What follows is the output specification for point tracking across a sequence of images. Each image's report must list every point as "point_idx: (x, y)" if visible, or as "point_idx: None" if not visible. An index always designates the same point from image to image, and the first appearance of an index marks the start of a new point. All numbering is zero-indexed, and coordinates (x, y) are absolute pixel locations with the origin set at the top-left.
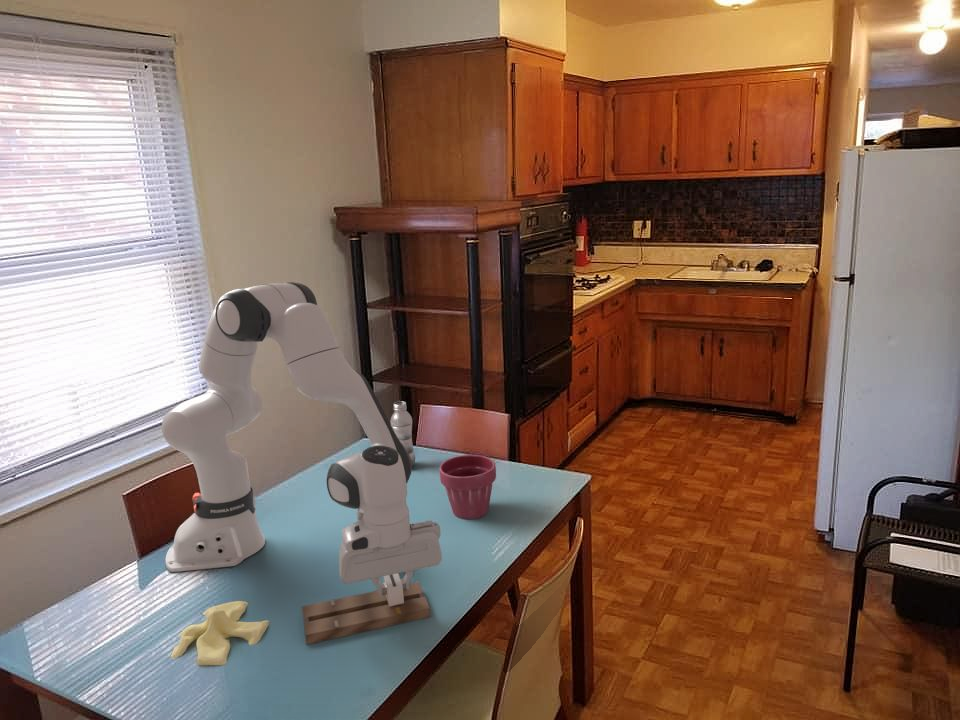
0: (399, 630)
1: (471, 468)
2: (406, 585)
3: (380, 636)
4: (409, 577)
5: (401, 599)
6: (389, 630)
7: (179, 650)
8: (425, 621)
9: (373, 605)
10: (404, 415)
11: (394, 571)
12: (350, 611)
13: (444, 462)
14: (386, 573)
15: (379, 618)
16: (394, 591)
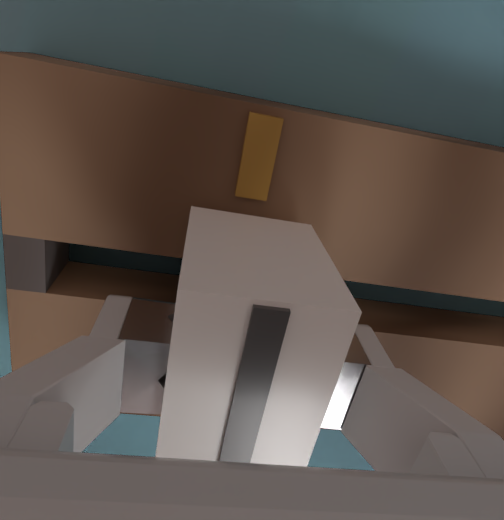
0: (297, 17)
1: None
2: (119, 321)
3: (437, 26)
4: (47, 372)
5: (209, 221)
6: (355, 61)
7: None
8: (81, 13)
9: (359, 319)
10: None
11: (269, 506)
12: (483, 332)
13: None
14: (412, 506)
15: (420, 141)
16: (275, 274)
